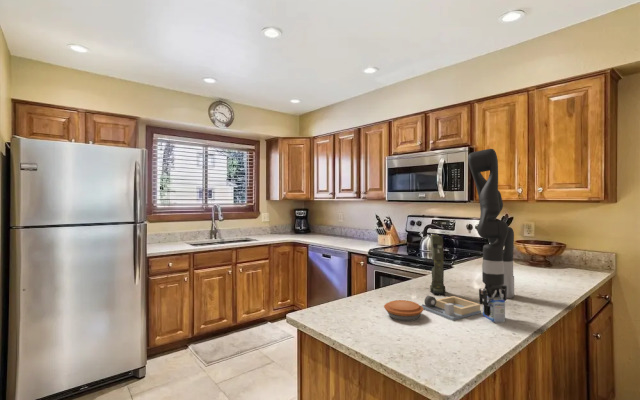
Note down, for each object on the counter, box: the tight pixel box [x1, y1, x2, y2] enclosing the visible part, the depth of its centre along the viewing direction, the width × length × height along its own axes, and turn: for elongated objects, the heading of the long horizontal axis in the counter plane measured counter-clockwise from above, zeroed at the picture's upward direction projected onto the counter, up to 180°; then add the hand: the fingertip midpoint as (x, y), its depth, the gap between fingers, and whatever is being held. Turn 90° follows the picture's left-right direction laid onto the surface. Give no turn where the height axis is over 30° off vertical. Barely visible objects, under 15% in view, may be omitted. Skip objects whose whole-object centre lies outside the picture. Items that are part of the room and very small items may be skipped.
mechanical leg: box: [429, 234, 446, 297], centre depth 166 cm, size 14×7×30 cm, turn 168°
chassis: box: [420, 295, 482, 322], centre depth 138 cm, size 17×17×5 cm
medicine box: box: [482, 296, 506, 323], centre depth 128 cm, size 8×4×9 cm, turn 5°
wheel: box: [423, 295, 437, 307], centre depth 140 cm, size 4×3×4 cm, turn 118°
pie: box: [383, 299, 425, 322], centre depth 133 cm, size 15×16×5 cm
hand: (493, 313), depth 128 cm, fingers open, 7 cm apart
